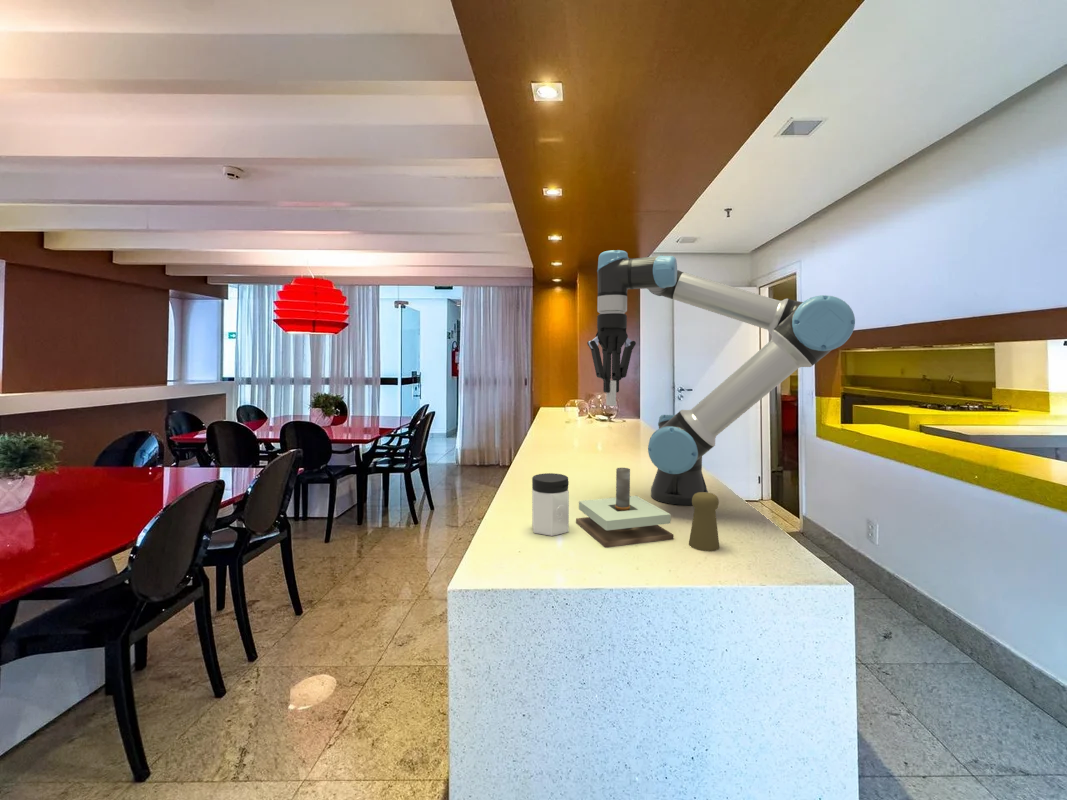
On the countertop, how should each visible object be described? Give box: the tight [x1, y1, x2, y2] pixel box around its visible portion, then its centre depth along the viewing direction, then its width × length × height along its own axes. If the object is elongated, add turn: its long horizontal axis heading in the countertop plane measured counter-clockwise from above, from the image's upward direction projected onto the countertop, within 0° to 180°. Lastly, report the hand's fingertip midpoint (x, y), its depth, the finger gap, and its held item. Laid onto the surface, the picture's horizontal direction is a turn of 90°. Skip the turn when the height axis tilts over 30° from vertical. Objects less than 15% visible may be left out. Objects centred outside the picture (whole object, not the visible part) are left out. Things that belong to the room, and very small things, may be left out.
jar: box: [531, 472, 570, 537], centre depth 111 cm, size 9×8×12 cm
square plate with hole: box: [578, 495, 672, 531], centre depth 110 cm, size 15×15×2 cm
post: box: [575, 467, 674, 548], centre depth 110 cm, size 16×16×14 cm
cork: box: [688, 491, 720, 552], centre depth 101 cm, size 6×6×11 cm
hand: (611, 405), depth 128 cm, fingers closed
